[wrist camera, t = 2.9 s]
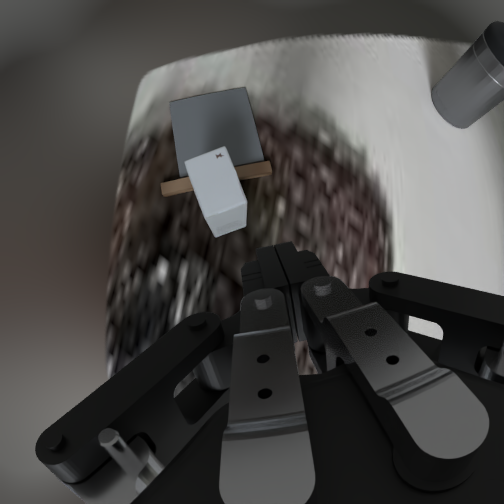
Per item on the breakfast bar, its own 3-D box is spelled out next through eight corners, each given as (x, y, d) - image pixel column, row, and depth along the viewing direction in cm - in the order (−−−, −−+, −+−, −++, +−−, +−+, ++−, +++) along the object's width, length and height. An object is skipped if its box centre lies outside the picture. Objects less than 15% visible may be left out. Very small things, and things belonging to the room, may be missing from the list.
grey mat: (245, 88, 42) (245, 87, 42) (263, 161, 41) (264, 160, 41) (169, 103, 42) (169, 102, 41) (180, 178, 40) (180, 177, 40)
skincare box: (198, 195, 40) (182, 159, 28) (230, 183, 41) (226, 143, 29) (215, 239, 40) (203, 219, 28) (247, 227, 40) (249, 201, 28)
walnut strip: (268, 164, 41) (269, 160, 40) (271, 174, 41) (272, 171, 40) (162, 186, 40) (160, 183, 39) (164, 197, 40) (162, 194, 39)
